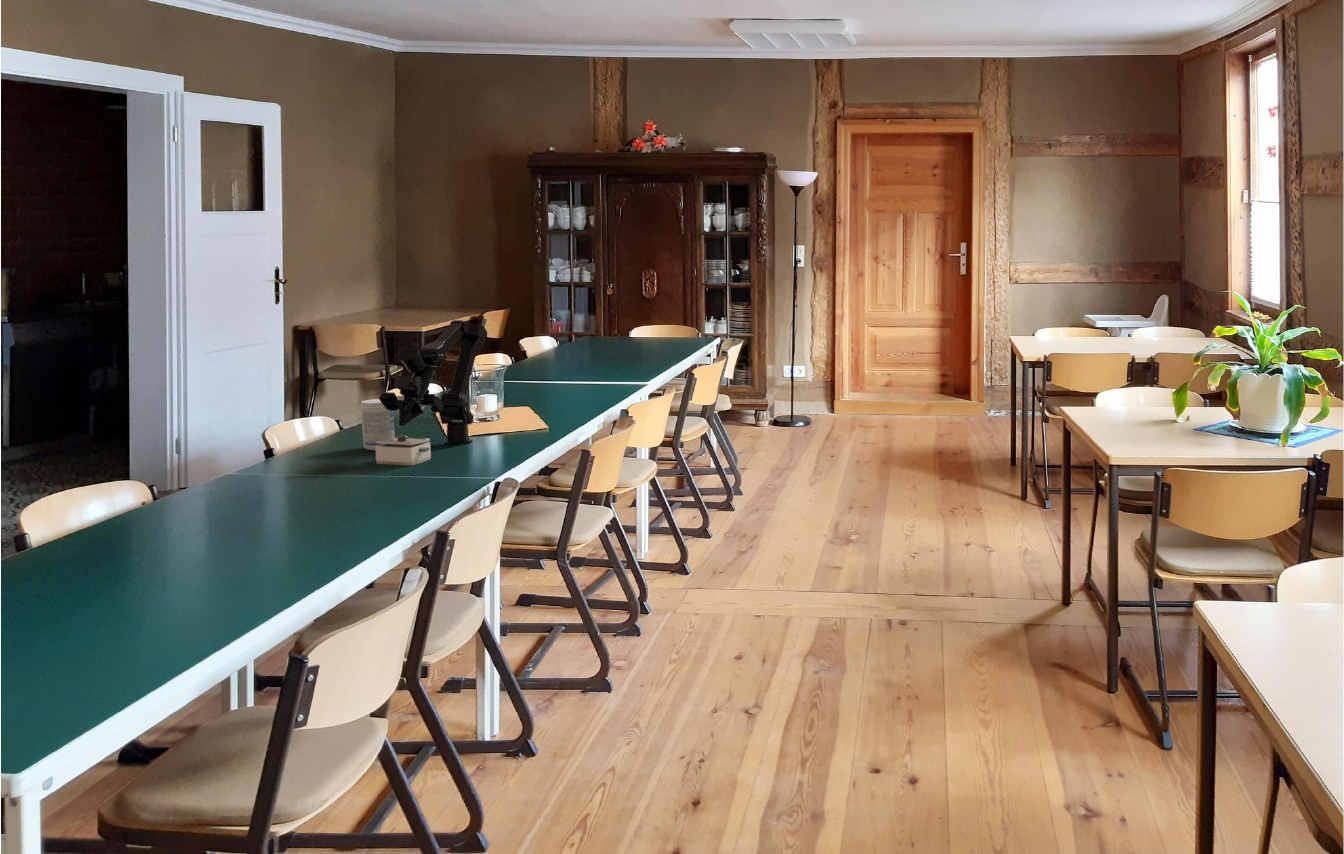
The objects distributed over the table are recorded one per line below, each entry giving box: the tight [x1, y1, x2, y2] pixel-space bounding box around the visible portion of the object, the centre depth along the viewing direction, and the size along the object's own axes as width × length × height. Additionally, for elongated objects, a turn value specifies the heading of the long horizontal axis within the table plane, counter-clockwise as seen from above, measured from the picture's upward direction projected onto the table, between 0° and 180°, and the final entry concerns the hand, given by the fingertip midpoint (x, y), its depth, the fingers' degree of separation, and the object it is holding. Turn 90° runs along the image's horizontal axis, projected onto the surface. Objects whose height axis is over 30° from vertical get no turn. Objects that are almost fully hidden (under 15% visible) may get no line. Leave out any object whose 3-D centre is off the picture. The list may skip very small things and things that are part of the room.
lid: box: [376, 434, 431, 445], centre depth 361 cm, size 10×12×2 cm
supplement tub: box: [360, 398, 396, 451], centre depth 383 cm, size 10×10×15 cm
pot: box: [375, 441, 432, 467], centre depth 362 cm, size 10×16×5 cm, turn 69°
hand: (401, 425), depth 360 cm, fingers closed
